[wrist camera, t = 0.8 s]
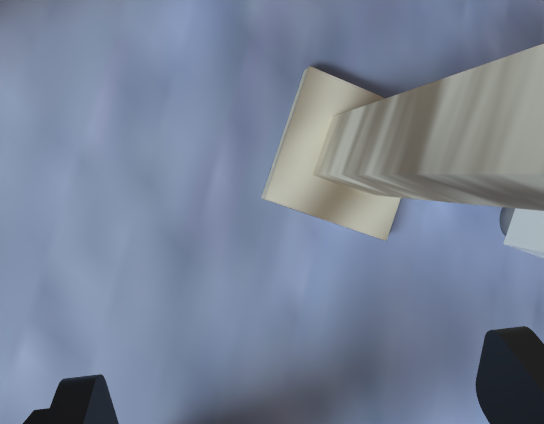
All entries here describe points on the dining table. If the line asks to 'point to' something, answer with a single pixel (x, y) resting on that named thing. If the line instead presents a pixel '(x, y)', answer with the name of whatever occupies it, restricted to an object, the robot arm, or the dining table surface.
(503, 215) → the dark grey piece
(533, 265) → the dining table surface
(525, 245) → the sleeve
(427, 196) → the stand
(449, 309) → the dining table surface
